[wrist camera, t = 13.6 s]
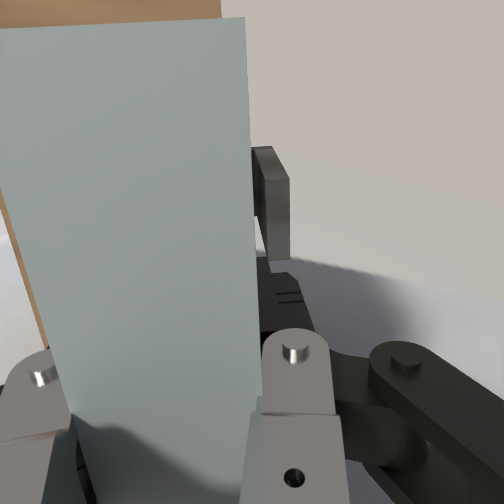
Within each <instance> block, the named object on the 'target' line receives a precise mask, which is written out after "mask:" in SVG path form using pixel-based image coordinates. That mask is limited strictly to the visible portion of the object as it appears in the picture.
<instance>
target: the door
mask: <svg viewBox="0 0 504 504" xmlns="http://www.w3.org/2000/svg"><path fill="white" fill-rule="evenodd" d="M0 188H1V191H2V195H3V198H4V201H5V204H6V208H7V211H8V214H9V217H10V221H11V224H12V227H13V230H14V233H15V237H16V240H17V243H18V246H19V250H20V253H21V256H22V259H23V263H24V266H25V269H26V272H27V275H28V279H29V282H30V285H31V288H32V292H33V295H34V298H35V301H36V305H37V308H38V311H39V314H40V317H41V321H42V324H43V327H44V330H45V334H46V337H47V340H48V343H49V347H50V350H51V353H52V356H53V359H54V363H55V366H56V369H57V372H58V376H59V379H60V382H61V385H62V389H63V392H64V395H65V398H66V401H67V405H68V408H69V411H70V413H72V415H73V419H74V422H75V425H76V428H77V432H78V440H79V443H80V447H81V450H82V453H83V456H84V460H85V463H86V466H87V469H88V472H89V476H90V479H91V482H92V485H93V489H94V492H95V495H96V496H97V497H98V500H99V503H100V504H239V500H240V492H241V484H242V477H243V469H244V461H245V453H246V445H247V437H248V430H249V422H250V416H251V412H252V411H256V403H257V396H263V394H262V373H261V352H260V331H259V310H258V288H257V267H256V247H255V225H254V203H253V182H252V161H251V140H250V119H249V98H248V76H247V56H246V34H245V18H244V17H237V18H217V19H196V20H175V21H154V22H134V23H113V24H92V25H71V26H50V27H30V28H9V29H0Z"/></svg>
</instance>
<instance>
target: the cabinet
mask: <svg viewBox="0 0 504 504" xmlns="http://www.w3.org/2000/svg"><path fill="white" fill-rule="evenodd" d="M217 18H222V16H221V1H220V0H0V29H9V28H30V27H50V26H71V25H92V24H113V23H134V22H154V21H175V20H196V19H217ZM251 161H252V182H253V203H254V216H257V218H258V222H259V226H260V230H261V234H262V238H263V243H264V247H265V251H266V255H267V259H268V261H275V260H288V259H290V199H289V198H290V194H289V193H290V186H289V184H290V183H289V176H288V175H287V173H286V171H285V169H284V167H283V166H282V164H281V162H280V160H279V158H278V156H277V155H276V153H275V151H274V149H273V148H272V146H264V147H251ZM0 209H1V212H2V215H3V218H4V222H5V225H6V228H7V231H8V234H9V237H10V240H11V244H12V247H13V250H14V253H15V256H16V259H17V262H18V265H19V269H20V272H21V275H22V278H23V281H24V284H25V287H26V291H27V294H28V297H29V300H30V303H31V306H32V309H33V312H34V316H35V319H36V322H37V325H38V328H39V331H40V334H41V338H42V341H43V344H44V347H45V350H46V348H47V347H48V345H49V343H48V340H47V337H46V334H45V330H44V327H43V324H42V321H41V317H40V314H39V311H38V308H37V305H36V301H35V298H34V295H33V292H32V288H31V285H30V282H29V279H28V275H27V272H26V269H25V266H24V263H23V259H22V256H21V253H20V250H19V246H18V243H17V240H16V237H15V233H14V230H13V227H12V224H11V221H10V217H9V214H8V211H7V208H6V204H5V201H4V198H3V195H2V191H1V188H0Z"/></svg>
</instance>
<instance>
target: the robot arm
mask: <svg viewBox="0 0 504 504" xmlns="http://www.w3.org/2000/svg"><path fill="white" fill-rule="evenodd" d="M256 267H257V288H258V310H259V331H260V352H261V373H262V394H263V396H257V403H256V411H252V412H251V416H250V422H249V430H248V437H247V445H246V453H245V461H244V469H243V477H242V484H241V492H240V500H239V504H350V499H349V490H348V481H347V473H346V464H345V459H348V460H353V461H358V462H362V464H363V466H364V468H365V470H366V471H367V472H368V473H369V475H370V476H371V477H372V478H373V479H374V480H375V481H376V482H377V484H378V485H379V486H380V487H381V488H382V489H383V490H384V491H385V493H386V494H387V495H388V496H389V497H390V498H391V499H392V500H393V502H394V503H395V504H504V400H502V399H501V398H499V397H498V396H497V395H495V394H494V393H492V392H491V391H489V390H488V389H486V388H485V387H483V386H482V385H480V384H479V383H477V382H476V381H474V380H473V379H471V378H470V377H468V376H467V375H465V374H464V373H463V372H461V371H460V370H458V369H457V368H455V367H454V366H452V365H451V364H449V363H448V362H446V361H445V360H443V359H442V358H440V357H439V356H437V355H436V354H434V353H433V352H432V351H430V350H428V349H427V348H425V347H423V346H420V345H417V344H415V343H410V342H405V341H390V342H385V343H382V344H380V345H378V346H376V347H375V348H374V349H373V350H372V351H371V354H370V358H362V357H354V356H348V355H344V354H340V353H337V352H335V351H333V350H331V349H329V346H328V344H327V342H326V340H325V339H324V338H323V337H322V336H320V335H319V334H317V333H316V332H315V330H314V327H313V324H312V321H311V318H310V315H309V312H308V310H307V307H306V304H305V302H304V298H303V295H302V293H301V289H300V287H299V284H298V281H297V280H296V279H295V278H293V277H292V276H291V275H290V274H289V273H287V272H282V273H271V271H270V267H269V263H268V259H267V257H256ZM0 504H100V503H99V500H98V497H97V496H96V495H95V492H94V489H93V485H92V482H91V479H90V476H89V472H88V469H87V466H86V463H85V460H84V456H83V453H82V450H81V447H80V443H79V440H78V432H77V428H76V425H75V422H74V419H73V415H72V413H70V411H69V408H68V405H67V401H66V398H65V395H64V392H63V389H62V385H61V382H60V379H59V376H58V372H57V369H56V366H55V363H54V359H53V356H52V353H51V350H50V347H49V345H48V347H47V348H46V350H43V351H40V352H37V353H35V354H32V355H31V356H29V357H27V358H25V359H24V360H22V361H21V362H19V363H18V364H17V365H16V366H15V367H14V368H13V369H12V370H11V372H10V373H9V375H8V378H7V380H6V383H5V384H4V385H1V386H0Z"/></svg>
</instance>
